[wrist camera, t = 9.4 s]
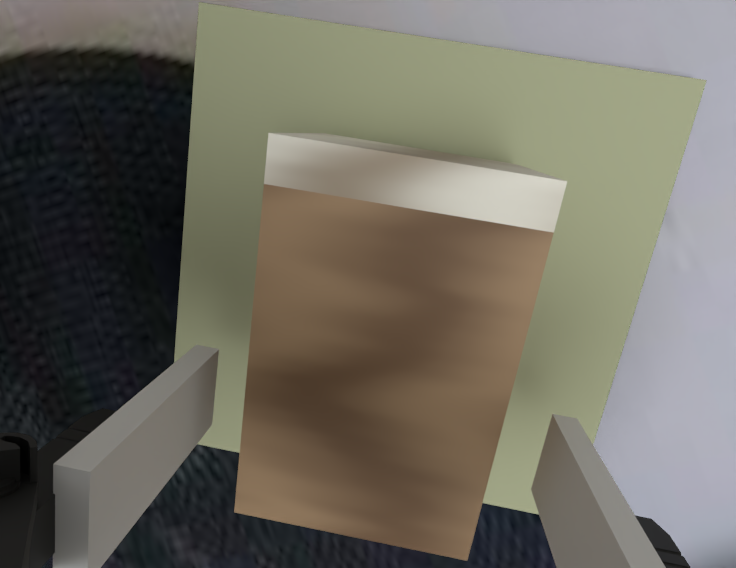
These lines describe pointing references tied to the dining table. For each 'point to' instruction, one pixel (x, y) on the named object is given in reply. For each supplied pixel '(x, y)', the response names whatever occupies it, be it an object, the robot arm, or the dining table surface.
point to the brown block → (386, 335)
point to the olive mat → (449, 135)
